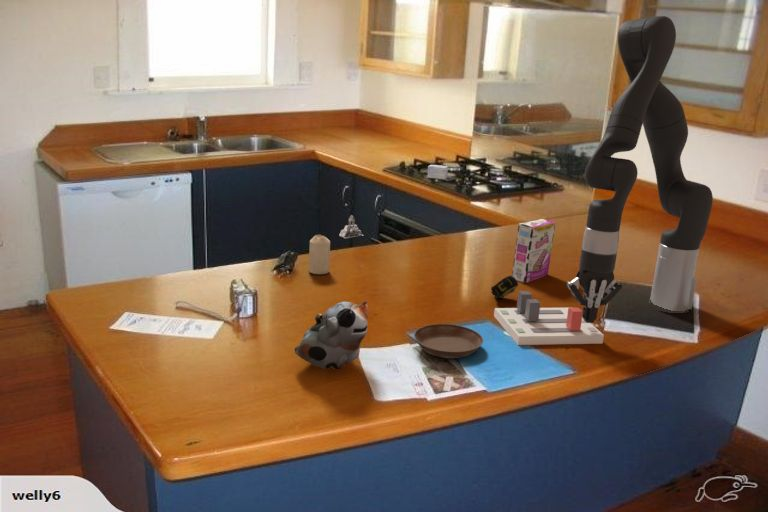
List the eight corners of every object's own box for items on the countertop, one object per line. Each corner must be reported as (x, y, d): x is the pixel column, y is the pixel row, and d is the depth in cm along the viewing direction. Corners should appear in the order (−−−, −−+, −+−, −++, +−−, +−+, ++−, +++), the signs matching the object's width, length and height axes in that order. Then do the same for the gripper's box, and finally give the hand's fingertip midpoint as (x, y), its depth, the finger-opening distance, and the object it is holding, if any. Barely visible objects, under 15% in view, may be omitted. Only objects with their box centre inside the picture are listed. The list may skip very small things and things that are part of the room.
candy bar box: (525, 286, 205) (532, 227, 200) (510, 281, 208) (517, 223, 204) (549, 278, 213) (556, 221, 208) (534, 273, 216) (541, 217, 211)
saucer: (412, 360, 156) (413, 348, 155) (413, 332, 170) (414, 321, 169) (484, 365, 156) (486, 353, 155) (479, 337, 170) (480, 326, 169)
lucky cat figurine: (329, 334, 164) (344, 277, 159) (373, 361, 158) (389, 303, 153) (283, 354, 152) (297, 294, 146) (328, 384, 146) (345, 322, 141)
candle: (332, 273, 206) (334, 237, 203) (314, 275, 203) (315, 239, 200) (323, 267, 210) (324, 232, 207) (305, 269, 207) (306, 234, 204)
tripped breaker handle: (575, 326, 172) (578, 307, 171) (580, 330, 170) (582, 311, 169) (565, 326, 172) (568, 307, 170) (570, 330, 170) (572, 311, 168)
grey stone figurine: (353, 232, 248) (354, 209, 246) (368, 238, 242) (369, 215, 239) (330, 234, 243) (331, 211, 241) (344, 241, 237) (345, 218, 234)
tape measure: (499, 303, 194) (491, 290, 195) (521, 288, 194) (513, 276, 195) (496, 300, 188) (488, 287, 189) (519, 285, 187) (511, 272, 188)
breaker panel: (572, 315, 186) (575, 288, 184) (602, 343, 170) (607, 314, 168) (493, 315, 182) (496, 288, 180) (517, 344, 166) (521, 315, 164)
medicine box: (446, 186, 327) (448, 166, 324) (444, 188, 323) (446, 167, 320) (428, 184, 329) (430, 164, 326) (426, 185, 325) (428, 165, 322)
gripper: (619, 243, 171) (608, 315, 176) (564, 242, 168) (554, 315, 173) (635, 253, 164) (623, 327, 169) (578, 252, 161) (567, 328, 166)
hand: (588, 321), depth 171 cm, fingers closed
